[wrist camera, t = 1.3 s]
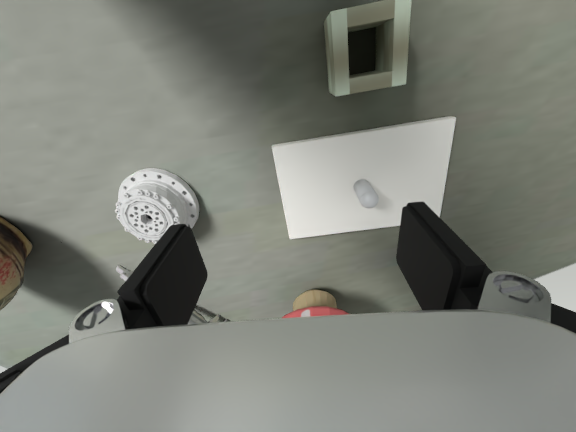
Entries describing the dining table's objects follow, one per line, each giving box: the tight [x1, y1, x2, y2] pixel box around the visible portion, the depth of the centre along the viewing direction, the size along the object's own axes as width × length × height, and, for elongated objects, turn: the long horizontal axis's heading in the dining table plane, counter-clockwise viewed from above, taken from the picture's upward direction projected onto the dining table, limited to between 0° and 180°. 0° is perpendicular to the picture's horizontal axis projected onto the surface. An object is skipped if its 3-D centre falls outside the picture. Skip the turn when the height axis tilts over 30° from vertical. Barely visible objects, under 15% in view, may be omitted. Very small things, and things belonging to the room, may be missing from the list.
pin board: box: [272, 116, 456, 239], centre depth 29 cm, size 13×20×6 cm, turn 99°
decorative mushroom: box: [282, 289, 349, 318], centre depth 35 cm, size 13×13×15 cm
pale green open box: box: [324, 0, 411, 97], centre depth 23 cm, size 6×6×5 cm
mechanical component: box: [115, 168, 199, 244], centre depth 32 cm, size 10×4×10 cm
